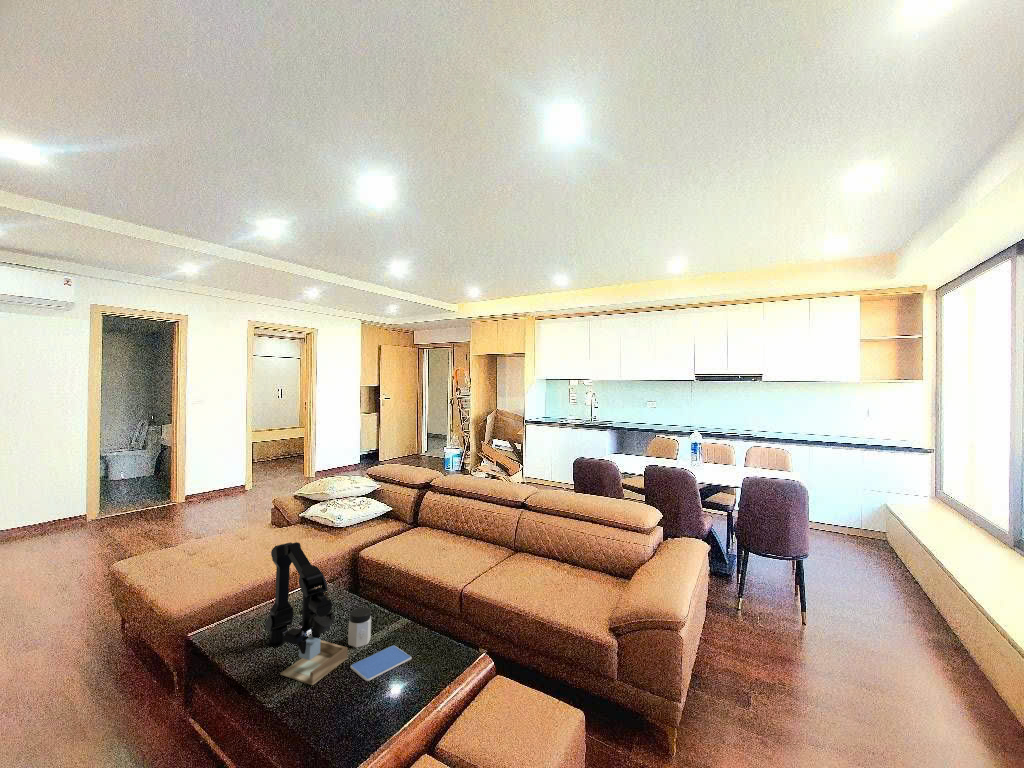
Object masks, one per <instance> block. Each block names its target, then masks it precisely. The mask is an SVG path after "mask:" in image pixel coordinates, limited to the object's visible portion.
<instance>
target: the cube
mask: <svg viewBox="0 0 1024 768" xmlns="http://www.w3.org/2000/svg"><path fill="white" fill-rule="evenodd" d="M308 637H309V638H308V639H307V640H306V650H305V654H302V653H301V651H300V649H299V648H298V649H299V651H298V658H299V659H302V658H304V659H307V660H311V659H312V658H313V657H315V656H316V655H318V654H319V653H320V641H321V640H322V639H321V638H320V637H319V638H315V637H312V635H311V636H308Z"/></svg>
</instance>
